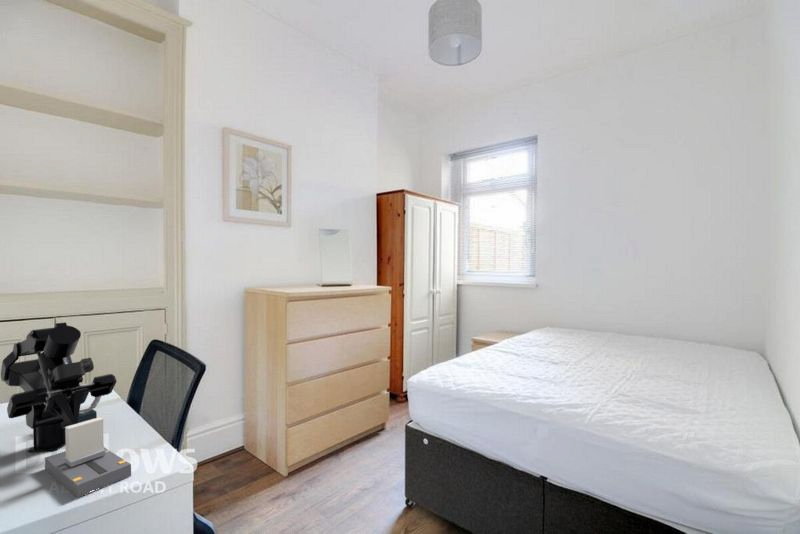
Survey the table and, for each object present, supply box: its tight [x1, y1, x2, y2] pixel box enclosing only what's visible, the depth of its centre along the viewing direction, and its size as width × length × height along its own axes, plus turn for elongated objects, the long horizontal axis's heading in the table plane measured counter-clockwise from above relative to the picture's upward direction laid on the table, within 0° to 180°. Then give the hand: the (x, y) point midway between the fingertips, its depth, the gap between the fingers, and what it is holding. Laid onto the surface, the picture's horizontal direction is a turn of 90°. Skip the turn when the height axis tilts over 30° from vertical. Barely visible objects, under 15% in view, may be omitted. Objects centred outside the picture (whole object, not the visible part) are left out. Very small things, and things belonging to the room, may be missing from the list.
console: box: [44, 446, 132, 499], centre depth 81 cm, size 20×9×3 cm, turn 57°
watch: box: [78, 383, 102, 423], centre depth 107 cm, size 6×8×11 cm
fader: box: [64, 416, 106, 467], centre depth 81 cm, size 4×6×8 cm, turn 147°
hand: (75, 424), depth 85 cm, fingers closed
